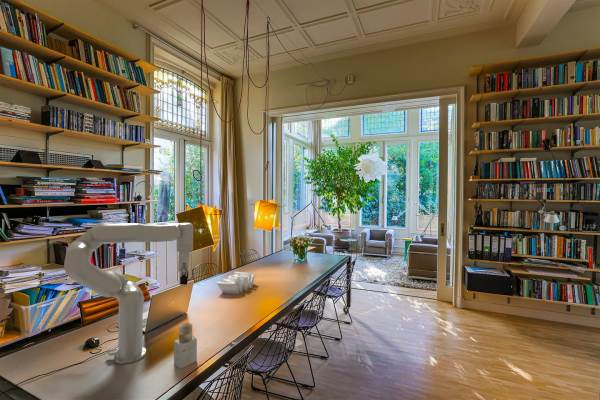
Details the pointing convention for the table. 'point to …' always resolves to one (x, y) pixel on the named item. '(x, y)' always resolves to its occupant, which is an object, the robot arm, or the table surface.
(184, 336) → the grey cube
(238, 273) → the wavy white extrusion
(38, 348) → the table surface
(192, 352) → the small box
